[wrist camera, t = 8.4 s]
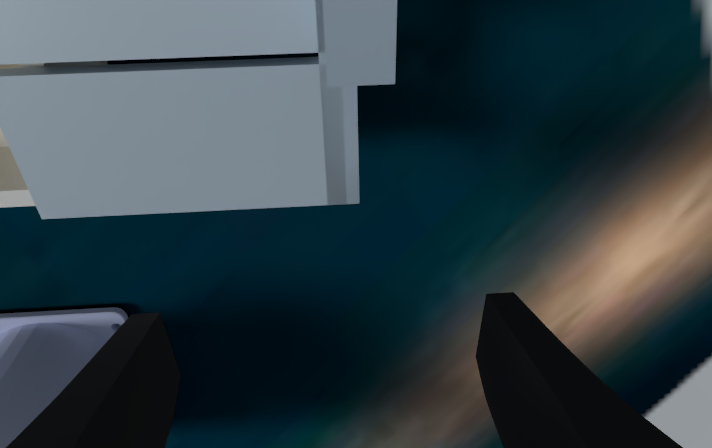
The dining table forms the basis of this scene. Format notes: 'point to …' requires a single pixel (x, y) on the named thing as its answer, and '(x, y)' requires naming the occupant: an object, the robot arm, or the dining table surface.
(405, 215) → the dining table surface
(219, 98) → the lid
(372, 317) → the dining table surface
